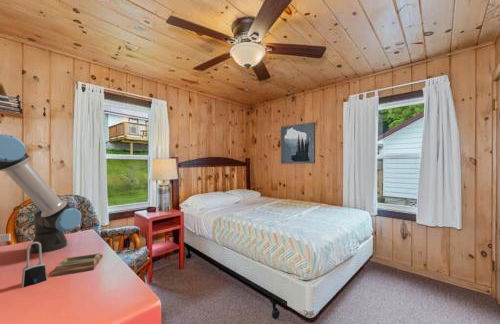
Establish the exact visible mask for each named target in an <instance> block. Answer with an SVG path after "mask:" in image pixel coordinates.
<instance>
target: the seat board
mask: <svg viewBox="0 0 500 324" xmlns="http://www.w3.org/2000/svg"><path fill="white" fill-rule="evenodd" d="M102 258H103V253H102V254H101V253H100V252H99V253H93V254H85V255H79V256H71V257H65V258H63V260H62V261H61V262H60V263H58V265H56V266H55V270H54V271H52V272H51V278H52V277H53V278H54V277H57V276H62V275H63V276H64V275H65V276H66V275H71V274H76V273H82V272H87V271H88V272H89V271H93V270H95V268H96V267H97V265H98V264H99V263H100V261H101V260H102Z"/></svg>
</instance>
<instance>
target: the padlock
mask: <svg viewBox="0 0 500 324" xmlns="http://www.w3.org/2000/svg"><path fill="white" fill-rule="evenodd" d="M32 244H38V245H39V253H38V258H39V259H38V260H39V261H38V263H34V264H30V247H31V245H32ZM42 255H43V252H41V244H40V243H39V242H33V241H32V242H30V243H28V245H27V247H26V266H24V267H23V268H22V272H21V274H22V276H21V283H20V284H21V287H22V288H26V287H30V286H34V285H38V284H39V283H40V284H41V283H43V282H46V281H48V274H47V267H46V264H45V263H44V262H43V261H42Z"/></svg>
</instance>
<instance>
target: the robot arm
mask: <svg viewBox="0 0 500 324" xmlns="http://www.w3.org/2000/svg"><path fill="white" fill-rule="evenodd" d="M26 150H27V148H26V145H25V142H23V141H22V140H21V139H20V138H18V137H17V136H14V135H10V134H1V133H0V172H4V173H6V175H7V176H8V177H10V179H11V180H12V181H13V182H14V183H15V184H16V185H17V186H18V187H19V188H20V189H21V191H23V192H24V194H25V195H26V196H27V197H28V198H29V199H30V200H31V201H32V202H33V204H34V205H36V207H35V209H34V211H33V217H34V221H33V222H34V237H33V239H32V242H39V243H40V244H41V252H42V253H47V252H53V251H56V250H60V249H63V248H65V247H66V246H68V240H67V237H66V235H65V232H70V231H74V230H75V229H76V228H77V227H78V226H79V225H80V224H81V221H82V213H81V211H80V210H79V209H77V208H75V207H72V205H70V203H68V201H67V200H61V198H60V197H59V196H58V195H57V194H56V192H55V191H54V190H53V189H52V188H51V187H50V185H49V184H48V183H47V181H46V180H44V178H43V177H42V176H41V175H40V174H39V172H38V171H37V170H36V169H35V168H34V167H33V166H32V164H31V163H30V162H29V159H30V155H29V154H28V153H27V151H26ZM11 235H12V234H11V233H3V234H2V233H1V234H0V243H2V242H11V240H12V239H11ZM29 253H32V254H39V245H38V244H32V245H31V246H30V248H29Z"/></svg>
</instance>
